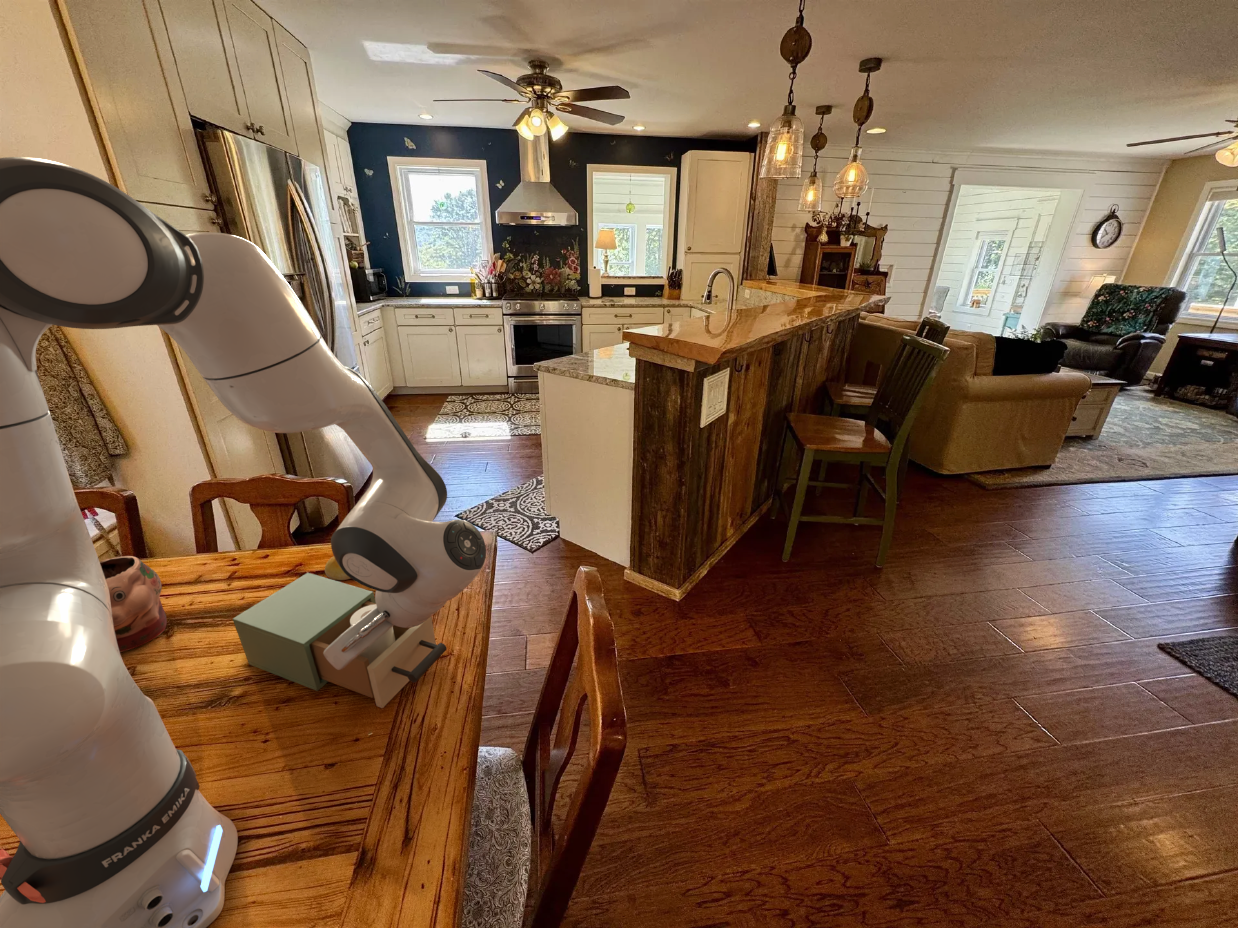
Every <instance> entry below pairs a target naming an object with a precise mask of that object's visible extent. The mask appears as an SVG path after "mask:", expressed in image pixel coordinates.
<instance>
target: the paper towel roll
mask: <svg viewBox="0 0 1238 928" xmlns="http://www.w3.org/2000/svg"><path fill="white" fill-rule="evenodd" d="M376 606H377V605H376V604H375V605H369V606H366V607H363V608H361V609H359V610H358V611H356V612H355V613H354V614H353V615H352V617H351V619H350V624H351V626H352V625H353V624H355V623H356V622H357V621H358V620H360V619H361V618H362V617H363V616H365V615H366V614H367V613H369V612H370V611H371V610H372V609H374V608H375V607H376ZM394 642H395V636H394V631H393V626H392V627H391V628H390V629H389V630H388V631H387V632H385V633H384V634H383V635H382V636H381V637H380V638H378V639H377V640H376V641H375V642H374V643H373V644H371V645H370V646H369V647H368V648H367V649H366V650H364V651H363V652H362V653H361V654H360V655H359V656H362V657H365V658H368V660H369V665H370V664H371V663H372V662H373V661H374V660H375V659H376V658H378V657H379V656H380V655H381V654H382V653H383V652H384V651H385V650H386V649H387V648H389V647H390V646H391V645H392V644H393V643H394Z"/></svg>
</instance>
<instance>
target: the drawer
mask: <svg viewBox="0 0 1238 928" xmlns="http://www.w3.org/2000/svg"><path fill="white" fill-rule="evenodd" d="M375 604H376V603H372V602H369V601H366V602H365V603H363V604H362V605H361V606H359V607H358V608H357V609H355V610H354V611H353V612H351V613H350V614H349V615H348V616H346V617H345V618H344V619H342V620H341V621H340V622H338V623H337V624H336V625H334V626H333V627H332V628H330V629H329V630H328V631H326V632H325V633H324V634H322V635H321V636H320V637H318V638H317V639H316V640H315V641H313V642H312V643H311V644H309V646H310V650H311V653H312V656H313V660H314V663H315V667H316V670H317V673H318V677H319V678H321V679H323V680H326V681H329V682H328V683H331V684H334V685H337V686H340V687H342V688H343V689H344V688H345V689H347V690H349V691H353V692H355V693H357V694H360V695H363V696H365V697H369V698H371V699H374V701H375V706H376V707H378V708H380V709H384V708H385V706H386V705H388V704H389V703H390V701H391V700H392V699H393V698H394V697H396V695H397V694H398V693H399V692H400V691H401V690H402V689H404V687H405V686H406V685H407V684H408V683H409V682H411V683H414V684H415V683H417V682H418V681H419V680H420V679H421V677H423V676H424V674H425V673H426V672H428V671H429V669H430V668H431V667H432V666H433V665H434V664H435V663H436V662H437V660H439V659H440V657H441V656H442V655H443V654H444V653H445V652H446V651H447V649H448V648H447V645H446V644H445V643H443V642H439V643H437V642H436V636H435V630H434V624H433V623H434V622H433V617H432V616H431V617H430V618H429V619H427V620H426V621H425V622H424V623H422V624H420V625H418V626H415V627H410V628H403V627H398V626H395V625H394V626H393V631H394V636H395V642H394V643H393V644H392V645H391V646H390V647H389V648H387V649H386V650H385V651H384V652H383V653H382V654H381V655H380V656H379V657H378V658H376V659H375V660H374V661H373V662H372V663H371V664H370V665H369V660H368V658H365V657H362V656H357V657H356V658H355V659H354V660H353V661H352V662H350V663H349V664H348V665H347V666H346V667H345V668H343V669H341V670H337V669H336V668H334V667H333V666H332V665H331V664H330V663H329V662H328V660H327V659H326V658H325V656H324V654H323V652H324V650H325V649H326V648H327V647H328V646H329V645H330V644H331V643H332V642H334V641H335V640H336V639H337V638H338V637H339V636H340V635H341V634H343V633H344V632H345V631H346V630H347V629H348V628H350V627H351V624H350V619H351V617H352V615H353V614H354V613H355V612H356V611H358V610H359V609H361V608H363V607H366V606H369V605H375Z"/></svg>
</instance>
